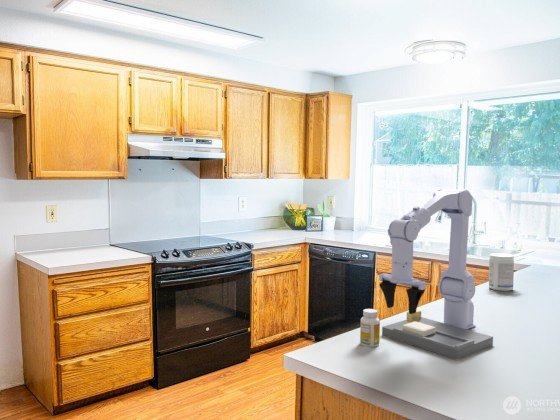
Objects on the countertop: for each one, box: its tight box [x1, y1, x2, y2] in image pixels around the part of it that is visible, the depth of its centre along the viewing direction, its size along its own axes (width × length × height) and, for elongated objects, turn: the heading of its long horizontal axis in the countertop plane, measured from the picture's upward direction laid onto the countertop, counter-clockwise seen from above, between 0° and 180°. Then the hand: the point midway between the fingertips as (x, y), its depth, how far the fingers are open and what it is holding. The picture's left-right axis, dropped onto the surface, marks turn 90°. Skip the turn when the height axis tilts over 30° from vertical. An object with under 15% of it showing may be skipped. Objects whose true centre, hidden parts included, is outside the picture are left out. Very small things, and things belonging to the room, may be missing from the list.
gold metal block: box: [406, 309, 422, 323], centre depth 148 cm, size 4×2×4 cm, turn 128°
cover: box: [403, 321, 436, 337], centre depth 140 cm, size 6×7×2 cm
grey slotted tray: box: [381, 316, 494, 361], centre depth 141 cm, size 18×25×4 cm
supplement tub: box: [488, 252, 515, 292], centre depth 205 cm, size 10×10×15 cm
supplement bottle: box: [359, 308, 381, 348], centre depth 137 cm, size 5×5×10 cm
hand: (401, 310), depth 135 cm, fingers open, 7 cm apart
